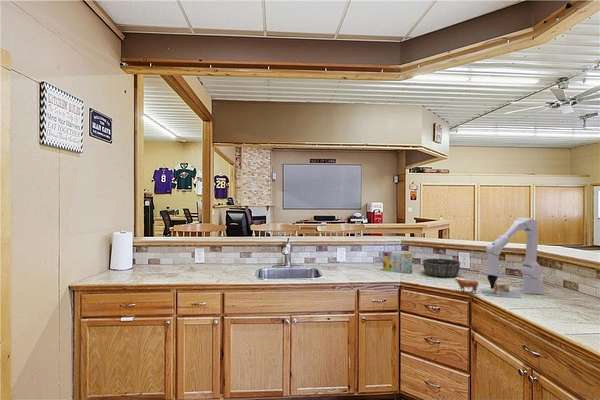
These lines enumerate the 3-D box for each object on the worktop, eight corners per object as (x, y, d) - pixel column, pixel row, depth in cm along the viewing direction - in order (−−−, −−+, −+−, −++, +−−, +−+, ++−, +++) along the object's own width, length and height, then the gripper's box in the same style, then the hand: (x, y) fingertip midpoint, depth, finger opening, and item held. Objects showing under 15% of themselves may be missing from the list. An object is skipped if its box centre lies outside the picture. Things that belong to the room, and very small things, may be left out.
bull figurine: (455, 289, 222) (455, 276, 222) (479, 293, 213) (478, 279, 213) (452, 290, 218) (452, 277, 218) (477, 294, 210) (477, 280, 210)
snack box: (412, 272, 274) (412, 252, 274) (410, 273, 269) (410, 253, 269) (385, 269, 285) (385, 250, 285) (382, 270, 280) (382, 251, 280)
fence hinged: (494, 290, 215) (494, 283, 215) (496, 290, 215) (496, 284, 215) (493, 292, 210) (493, 286, 210) (495, 293, 210) (495, 286, 210)
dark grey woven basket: (461, 280, 247) (461, 265, 247) (421, 277, 257) (421, 263, 257) (460, 272, 272) (460, 259, 272) (423, 270, 282) (423, 257, 282)
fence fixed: (508, 291, 214) (508, 283, 214) (509, 292, 213) (509, 284, 213) (494, 290, 217) (494, 282, 217) (495, 291, 216) (494, 283, 216)
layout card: (514, 291, 217) (514, 290, 217) (521, 298, 201) (521, 297, 201) (480, 289, 222) (480, 288, 222) (485, 295, 207) (485, 295, 207)
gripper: (477, 264, 214) (476, 287, 214) (503, 267, 203) (502, 292, 203) (482, 262, 219) (481, 285, 219) (508, 266, 208) (507, 290, 208)
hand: (492, 288), depth 212 cm, fingers closed, pressing on fence hinged
